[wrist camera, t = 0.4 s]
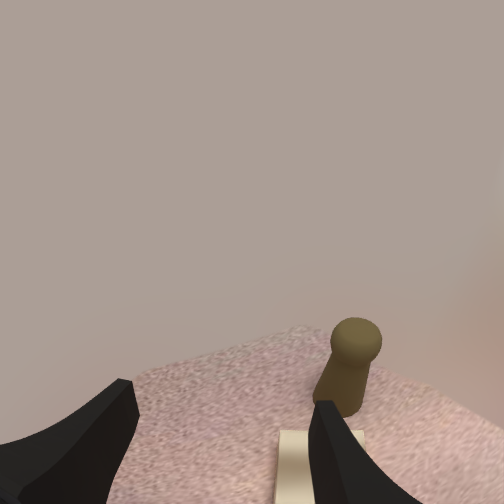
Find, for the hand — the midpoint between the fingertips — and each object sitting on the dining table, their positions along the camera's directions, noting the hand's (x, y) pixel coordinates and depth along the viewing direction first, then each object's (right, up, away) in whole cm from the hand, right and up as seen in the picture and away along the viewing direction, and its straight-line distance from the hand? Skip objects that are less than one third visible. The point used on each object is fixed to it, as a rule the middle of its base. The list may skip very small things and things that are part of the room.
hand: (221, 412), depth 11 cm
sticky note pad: (+7, -16, +13) cm, 22 cm away
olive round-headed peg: (+11, -11, +23) cm, 27 cm away
